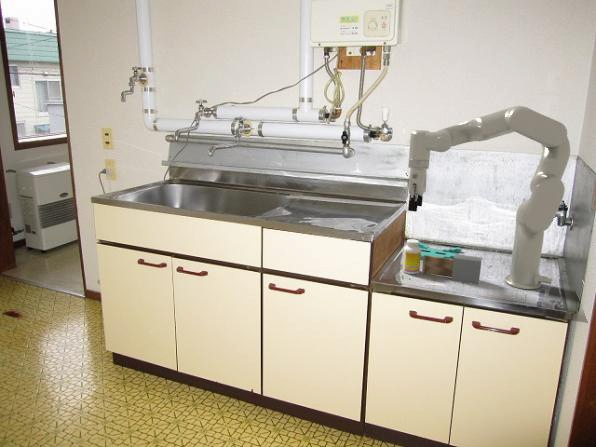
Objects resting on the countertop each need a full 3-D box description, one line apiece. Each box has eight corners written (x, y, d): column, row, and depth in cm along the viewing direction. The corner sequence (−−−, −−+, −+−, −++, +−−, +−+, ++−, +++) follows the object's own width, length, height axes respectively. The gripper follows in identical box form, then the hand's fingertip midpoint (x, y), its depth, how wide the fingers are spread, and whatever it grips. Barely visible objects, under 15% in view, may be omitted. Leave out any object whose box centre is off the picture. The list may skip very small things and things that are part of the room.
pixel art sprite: (416, 246, 227) (404, 258, 210) (417, 241, 227) (405, 253, 210) (461, 252, 218) (452, 266, 201) (461, 248, 218) (452, 261, 201)
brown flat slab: (459, 277, 186) (461, 260, 184) (459, 278, 185) (461, 261, 183) (422, 271, 192) (424, 254, 190) (422, 272, 191) (423, 255, 189)
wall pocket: (479, 280, 185) (481, 257, 183) (478, 284, 181) (480, 261, 178) (453, 276, 189) (455, 254, 187) (451, 280, 184) (453, 257, 182)
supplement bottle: (422, 274, 191) (424, 243, 187) (406, 275, 189) (408, 243, 186) (415, 268, 197) (417, 238, 194) (399, 269, 196) (401, 238, 192)
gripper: (424, 167, 173) (420, 214, 177) (432, 161, 188) (429, 205, 193) (403, 166, 176) (400, 212, 180) (413, 160, 191) (410, 203, 196)
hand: (415, 208), depth 186 cm, fingers open, 9 cm apart
